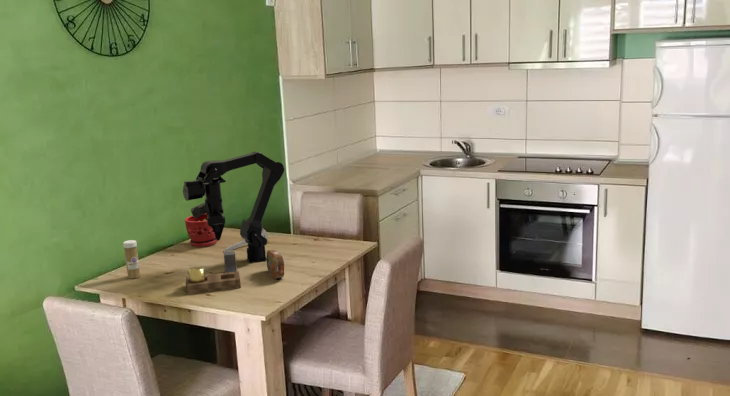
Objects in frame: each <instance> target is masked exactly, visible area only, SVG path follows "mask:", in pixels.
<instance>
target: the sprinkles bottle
mask: <svg viewBox="0 0 730 396" xmlns="http://www.w3.org/2000/svg"><path fill="white" fill-rule="evenodd" d="M122 244H123V245H122V246H123V249H124V260H125V266H126V267H125V268H126V271H127V279H138V278H139V277H141V271H140V262H139V261H140V260H139V256H138V255H139V254H138V248H137V245H138V244H137V240H134V239H130V240H129V239H128V240H125V241H123V242H122Z"/></svg>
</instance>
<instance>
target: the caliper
mask: <svg viewBox="0 0 730 396" xmlns="http://www.w3.org/2000/svg"><path fill="white" fill-rule="evenodd" d="M261 235H262V236H263V237H265V238H266V239H267V242H268V233H267V230H265V229H264V228H263V227H262V233H261ZM246 244H247V243H246V241H245V239H243V240H241V241H239V242H236V243H235V244H232V245H230V246H228V247H226V248H225V249H224V250H223V251H222V252H223V253H224V252H231V251H234V250H235V249H238V248H239V247H242V246H243V245H246Z"/></svg>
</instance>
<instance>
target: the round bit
mask: <svg viewBox="0 0 730 396" xmlns="http://www.w3.org/2000/svg"><path fill="white" fill-rule="evenodd" d="M188 271H189V272H188V273H189V277H190V282H191V283H193V284H194V283H202V282H204V281H205V276H204V275H205V269H204V266H194V267H191V268H189V270H188Z"/></svg>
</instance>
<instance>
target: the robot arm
mask: <svg viewBox="0 0 730 396" xmlns="http://www.w3.org/2000/svg"><path fill="white" fill-rule="evenodd" d="M255 164H256V165H257V166H258V167H259V168H261V169H262V172H261V175H262V176H261V177H262V179H261V180H262V181H261V185H260V188H259V191H258V193H257V196H256V198H255V201H254V205H253V206H252V210H251V213H250V216H249V217H248V218H247V219H242V222H241V226H240V227H239V230H240V231H239V235H240V238H242V239H243V240H245V241H246V244H247V247H246V259H247V260H248V261H249V263H257V262H265V261H266V256H267V253H266V246H267V244H268V241H267V239H266V238H265V237H264V236H262V235H261V233H262V228H263V219H264V216H265V213H266V210H267V207H268V204H269V202H270V200H271V196H272V193H273V190H274V189H275V186H276V185H277V184H278V182H280V180H281V179H282V176H283V175H284V172H285V166H284V164H283V163H282V162H281V161H276V160H273V159H272V158H270V157H267V156H266V155H264V154H263V153H262V152H259V151H252V152H250V153H246V154H242V155H238V156H235V157H231V158H228V159H222V160H219V159H218V160H207V161H206V160H205V161H204V162H202V164H201V166H200V171H199V172H198V174H197V176H196V177H195V180H186V181H184V182H183V183H184V185H183V187H182V195H183V199H184V200H185V201H192V200H198V199H203V197H204V198H205V199H204V202H203V203H200V204H197V205H196V206H193V207H192V208H191V209H190V212H191V214H192V215H193V217H194V218H195V219H196V218H198V217H199V216H201V215H203V214H205V213H206V214H207V222H208V225H209V226H210V227H212V228H213V230H214V234H215V237H216V240H217V242H218V241H221V238H222V234H223V232H224V228H225V225H226V217H225V214H224V207H223V206H224V205H223V197H222V187H221V184H223V183H226V182H227V180H226V179H224V178H223V177H222V176H223V175H225V174H226V173H228V172H230V171H233V170H237V169H240V168H244V167H247V166H251V165H255ZM192 215H191V216H192ZM266 262H267V261H266Z"/></svg>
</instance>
